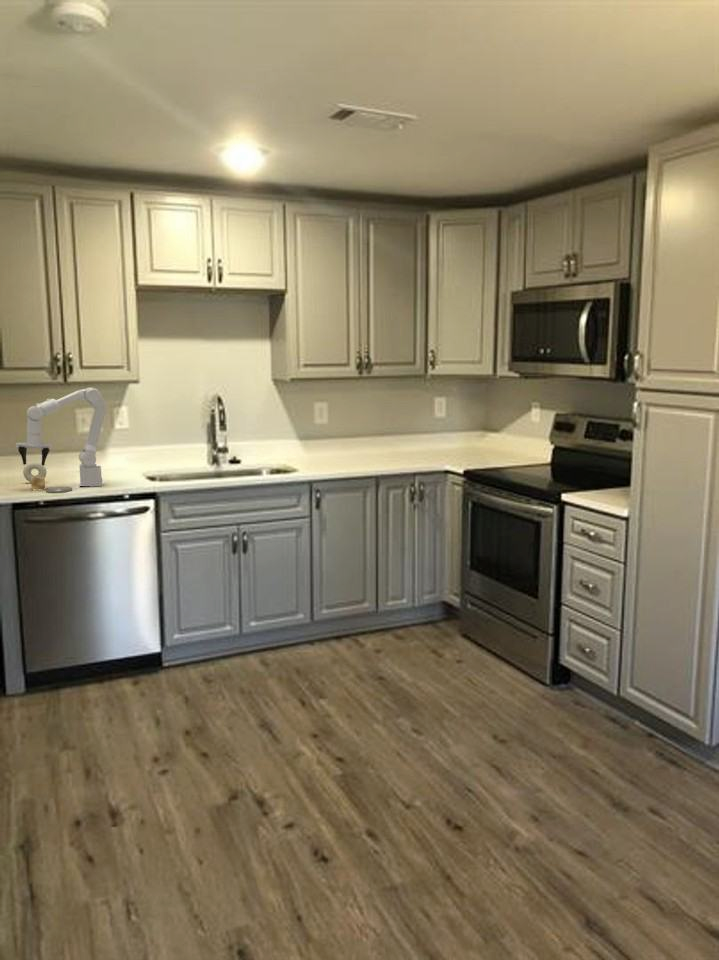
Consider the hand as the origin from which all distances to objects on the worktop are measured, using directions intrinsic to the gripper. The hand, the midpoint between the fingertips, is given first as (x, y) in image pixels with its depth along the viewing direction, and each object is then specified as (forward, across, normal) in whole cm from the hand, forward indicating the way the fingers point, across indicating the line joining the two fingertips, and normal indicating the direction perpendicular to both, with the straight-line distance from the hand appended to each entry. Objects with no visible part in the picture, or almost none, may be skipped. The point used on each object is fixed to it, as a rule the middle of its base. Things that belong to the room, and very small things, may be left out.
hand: (33, 464), depth 348 cm
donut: (+11, -3, +18) cm, 21 cm away
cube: (+11, +2, 0) cm, 11 cm away
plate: (+10, +12, -6) cm, 17 cm away
